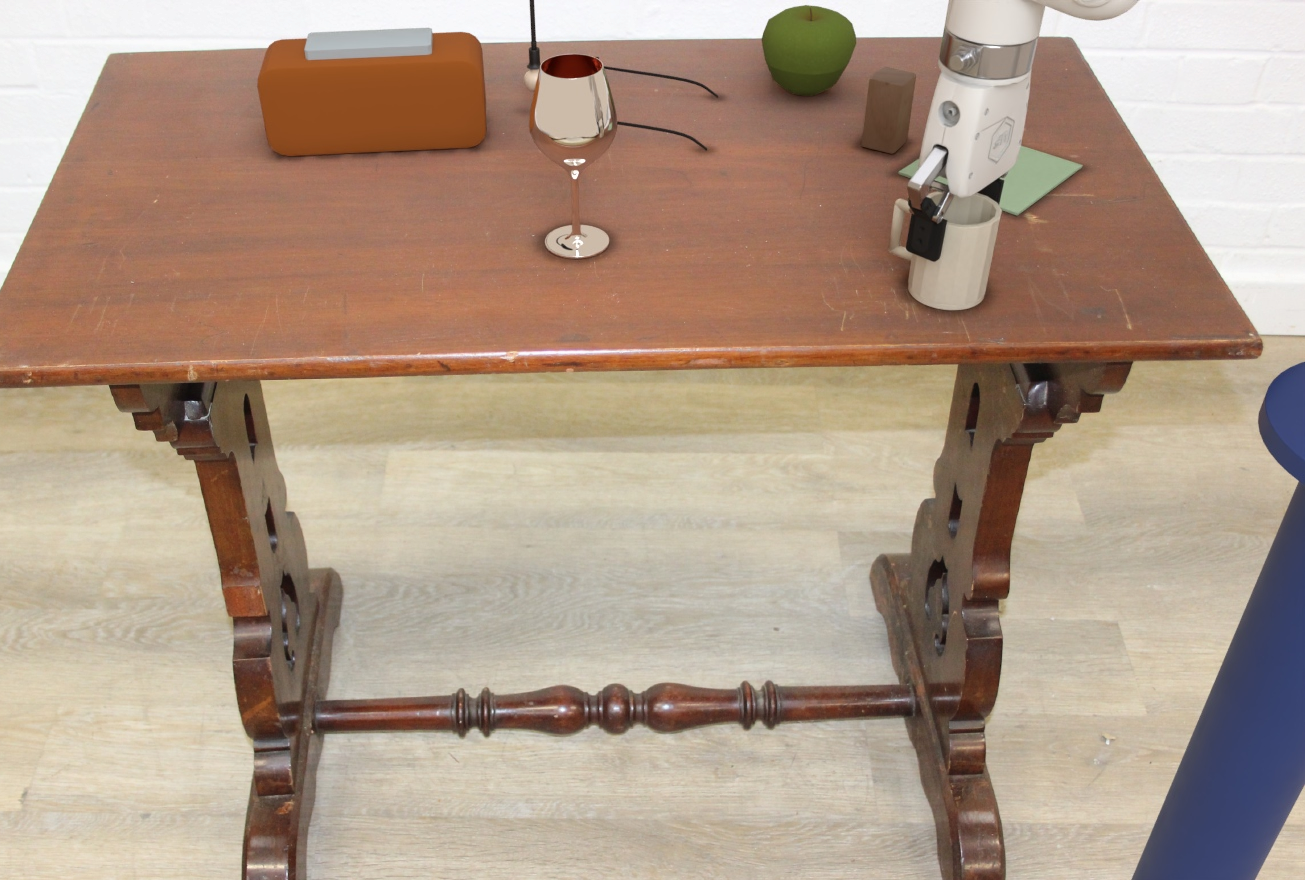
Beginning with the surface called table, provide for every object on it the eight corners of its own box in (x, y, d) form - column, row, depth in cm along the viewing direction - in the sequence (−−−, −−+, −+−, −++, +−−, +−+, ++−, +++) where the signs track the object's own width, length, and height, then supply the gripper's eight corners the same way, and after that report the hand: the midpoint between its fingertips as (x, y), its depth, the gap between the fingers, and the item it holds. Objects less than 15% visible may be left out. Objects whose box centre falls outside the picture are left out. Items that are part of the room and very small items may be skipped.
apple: (756, 107, 155) (761, 22, 148) (760, 71, 163) (766, -11, 156) (850, 111, 154) (860, 26, 147) (850, 75, 162) (859, -8, 155)
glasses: (593, 90, 159) (597, 50, 156) (715, 110, 158) (722, 70, 155) (572, 143, 148) (577, 100, 145) (704, 165, 148) (711, 123, 144)
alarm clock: (487, 116, 154) (480, 19, 147) (487, 148, 148) (480, 48, 141) (278, 125, 153) (261, 28, 146) (269, 158, 147) (251, 58, 139)
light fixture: (564, 119, 153) (556, -108, 137) (506, 120, 153) (492, -108, 137) (566, 95, 158) (559, -127, 142) (510, 95, 158) (497, -126, 142)
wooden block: (893, 155, 145) (903, 85, 140) (859, 147, 147) (868, 77, 141) (907, 141, 147) (918, 72, 142) (874, 133, 149) (883, 64, 144)
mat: (1082, 167, 142) (1082, 165, 142) (1017, 215, 134) (1017, 213, 134) (966, 130, 149) (966, 127, 149) (898, 174, 142) (898, 171, 141)
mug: (999, 288, 124) (1016, 205, 118) (959, 319, 120) (975, 235, 114) (906, 252, 129) (918, 172, 124) (865, 281, 125) (876, 199, 120)
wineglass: (539, 266, 128) (530, 87, 116) (531, 225, 134) (522, 51, 123) (623, 260, 129) (623, 81, 117) (611, 219, 135) (610, 45, 123)
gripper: (973, 96, 102) (936, 287, 113) (1079, 32, 112) (1035, 213, 123) (890, 69, 106) (862, 257, 117) (999, 9, 116) (964, 187, 127)
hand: (951, 234), depth 120 cm, fingers open, 9 cm apart
